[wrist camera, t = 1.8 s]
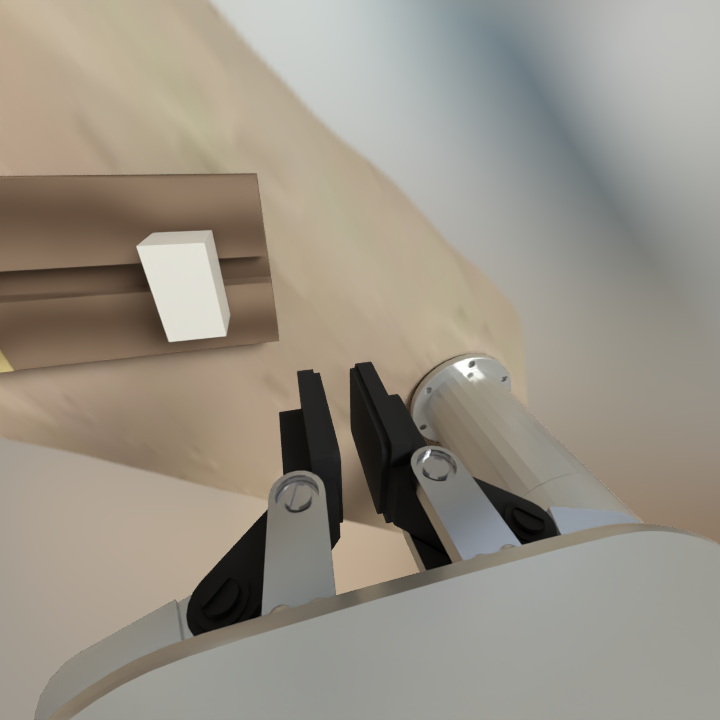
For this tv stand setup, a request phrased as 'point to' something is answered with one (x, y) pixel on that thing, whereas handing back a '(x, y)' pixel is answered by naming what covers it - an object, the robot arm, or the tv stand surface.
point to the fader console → (120, 264)
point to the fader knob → (186, 284)
